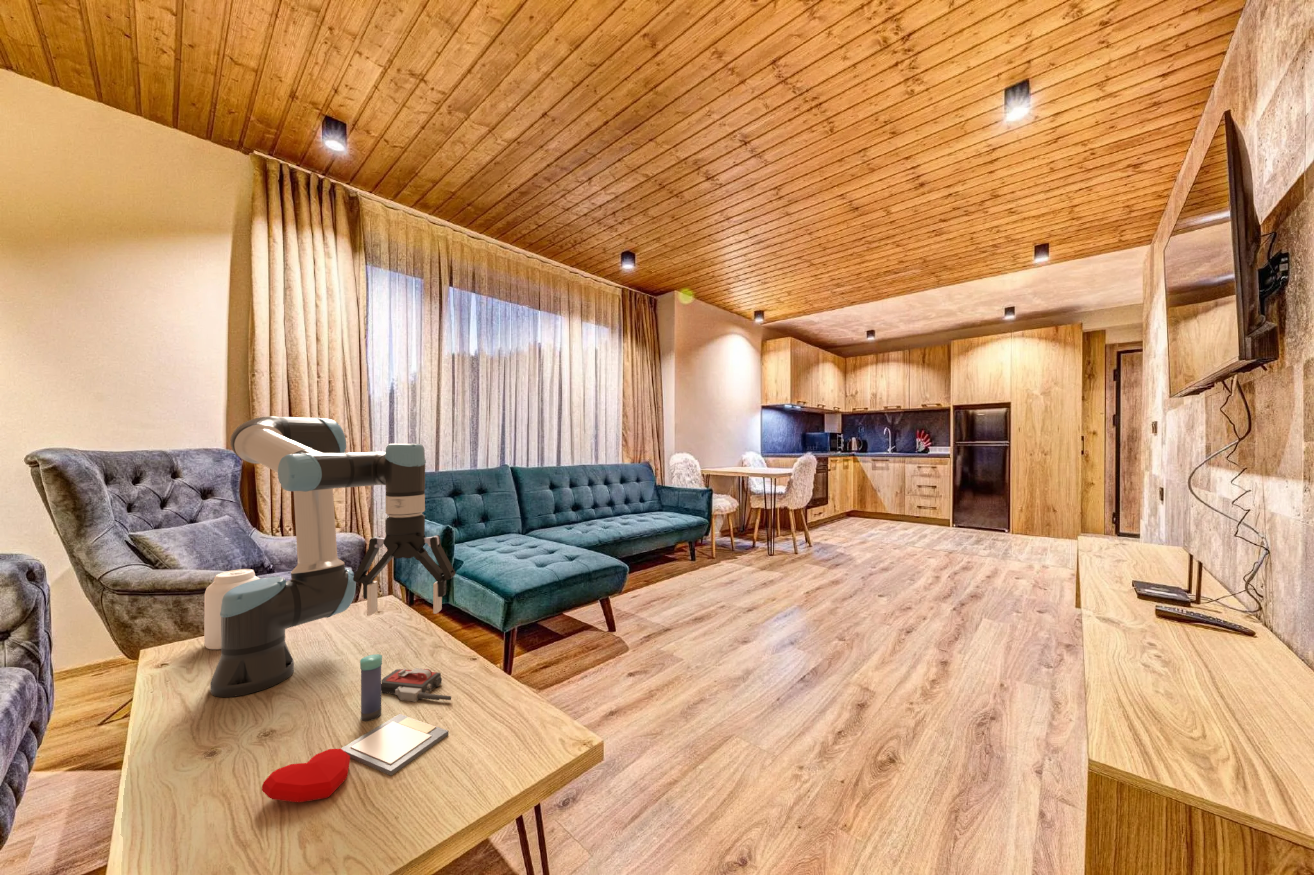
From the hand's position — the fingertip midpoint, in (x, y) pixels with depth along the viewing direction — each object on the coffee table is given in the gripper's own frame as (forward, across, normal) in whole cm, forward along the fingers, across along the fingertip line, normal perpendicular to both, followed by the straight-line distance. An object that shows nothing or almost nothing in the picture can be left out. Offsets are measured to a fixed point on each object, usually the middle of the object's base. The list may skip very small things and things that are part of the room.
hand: (405, 612), depth 99 cm
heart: (+21, -4, -23) cm, 31 cm away
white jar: (+21, -65, +39) cm, 79 cm away
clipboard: (+20, +4, -12) cm, 24 cm away
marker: (+20, -6, -3) cm, 21 cm away
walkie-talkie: (+21, 0, +7) cm, 22 cm away
